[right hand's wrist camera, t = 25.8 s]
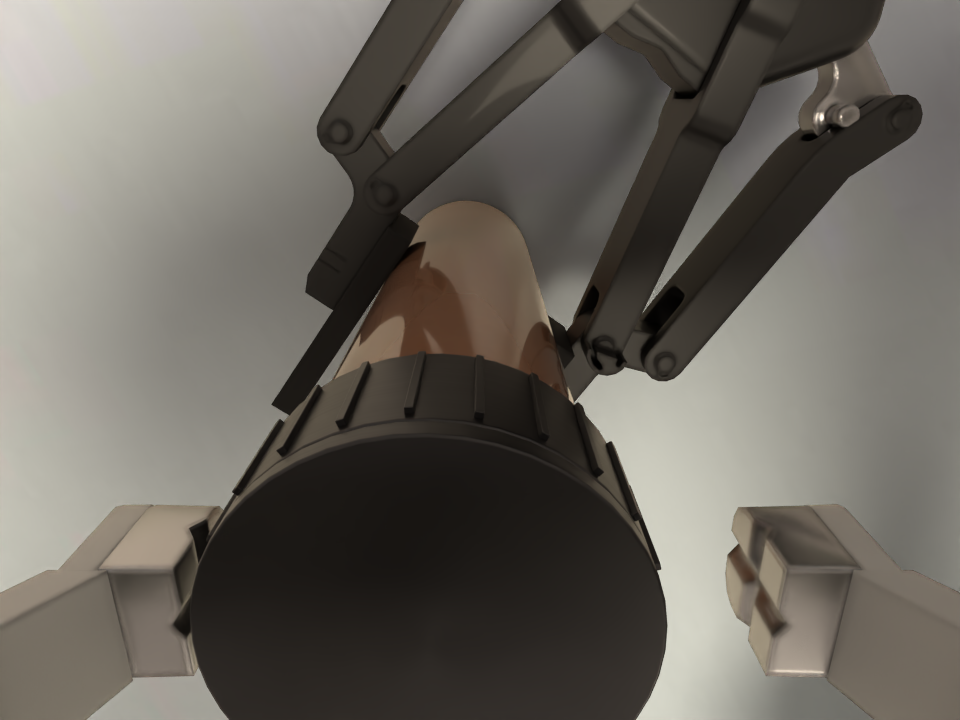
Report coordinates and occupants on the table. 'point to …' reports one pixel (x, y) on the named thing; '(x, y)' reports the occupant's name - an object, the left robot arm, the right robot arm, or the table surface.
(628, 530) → the lid
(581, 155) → the table surface
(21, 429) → the table surface
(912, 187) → the table surface
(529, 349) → the jar
